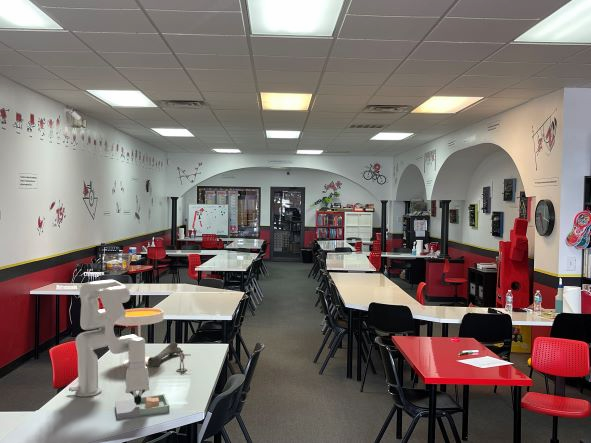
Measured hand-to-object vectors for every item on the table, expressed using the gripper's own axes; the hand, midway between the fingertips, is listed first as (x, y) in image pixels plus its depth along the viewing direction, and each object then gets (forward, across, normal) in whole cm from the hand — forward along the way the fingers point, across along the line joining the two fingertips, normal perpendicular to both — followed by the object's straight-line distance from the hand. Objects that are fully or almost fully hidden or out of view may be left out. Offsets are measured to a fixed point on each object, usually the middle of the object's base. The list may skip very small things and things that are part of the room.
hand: (137, 404), depth 247 cm
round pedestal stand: (+4, +8, +88) cm, 89 cm away
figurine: (+4, +29, +59) cm, 66 cm away
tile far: (+1, +8, +6) cm, 9 cm away
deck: (+4, -4, +3) cm, 7 cm away
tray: (+4, +7, +3) cm, 9 cm away
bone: (+4, +22, +87) cm, 89 cm away
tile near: (0, +3, 0) cm, 3 cm away
